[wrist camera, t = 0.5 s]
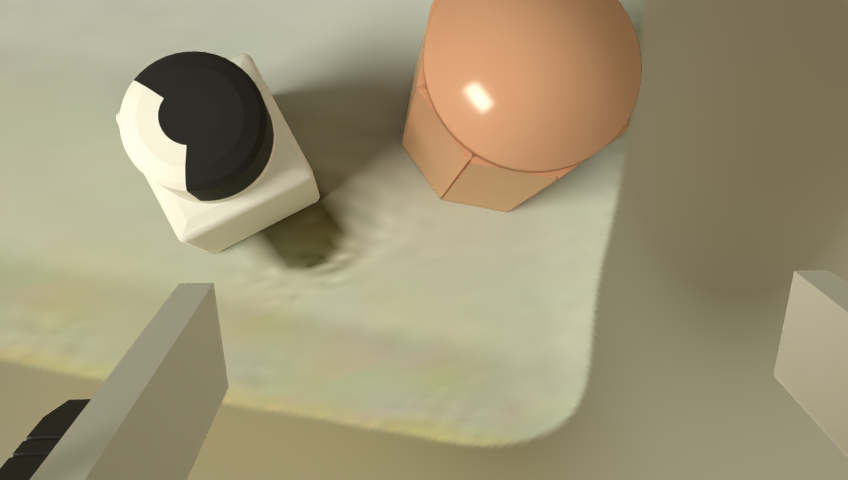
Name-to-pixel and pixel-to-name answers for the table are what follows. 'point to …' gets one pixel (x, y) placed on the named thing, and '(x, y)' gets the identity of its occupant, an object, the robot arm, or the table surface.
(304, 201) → the medicine bottle
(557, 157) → the peach domed post
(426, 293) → the table surface
